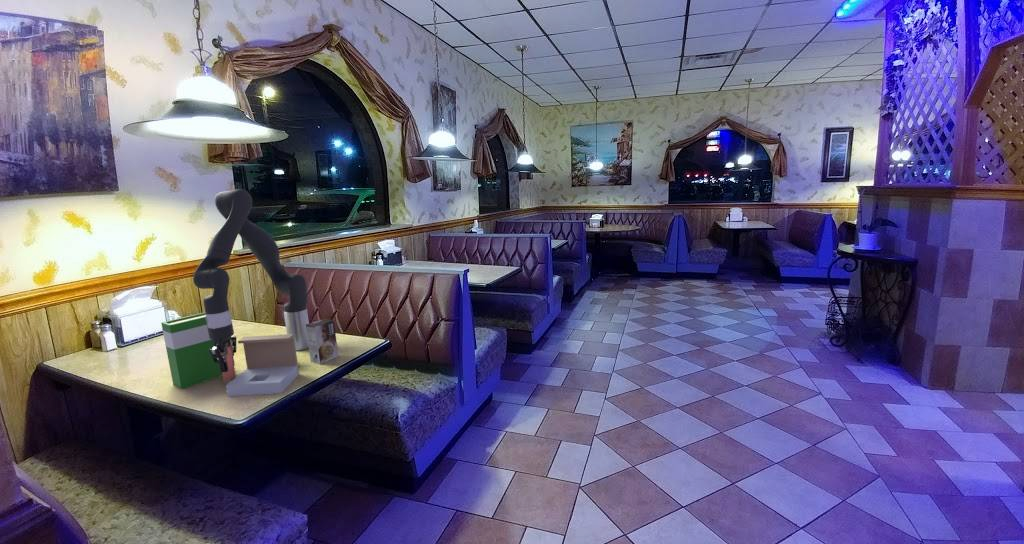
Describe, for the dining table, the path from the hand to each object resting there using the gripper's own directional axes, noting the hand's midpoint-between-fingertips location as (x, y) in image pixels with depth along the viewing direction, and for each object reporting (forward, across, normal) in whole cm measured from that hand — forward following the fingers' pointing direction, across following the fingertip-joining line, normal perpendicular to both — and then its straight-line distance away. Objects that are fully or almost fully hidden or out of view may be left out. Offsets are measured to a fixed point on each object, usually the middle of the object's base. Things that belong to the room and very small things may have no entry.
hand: (228, 368), depth 167 cm
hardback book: (+7, -9, -14) cm, 18 cm away
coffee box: (+7, -20, +27) cm, 34 cm away
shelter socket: (+6, +1, +13) cm, 14 cm away
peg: (+4, 0, 0) cm, 4 cm away
